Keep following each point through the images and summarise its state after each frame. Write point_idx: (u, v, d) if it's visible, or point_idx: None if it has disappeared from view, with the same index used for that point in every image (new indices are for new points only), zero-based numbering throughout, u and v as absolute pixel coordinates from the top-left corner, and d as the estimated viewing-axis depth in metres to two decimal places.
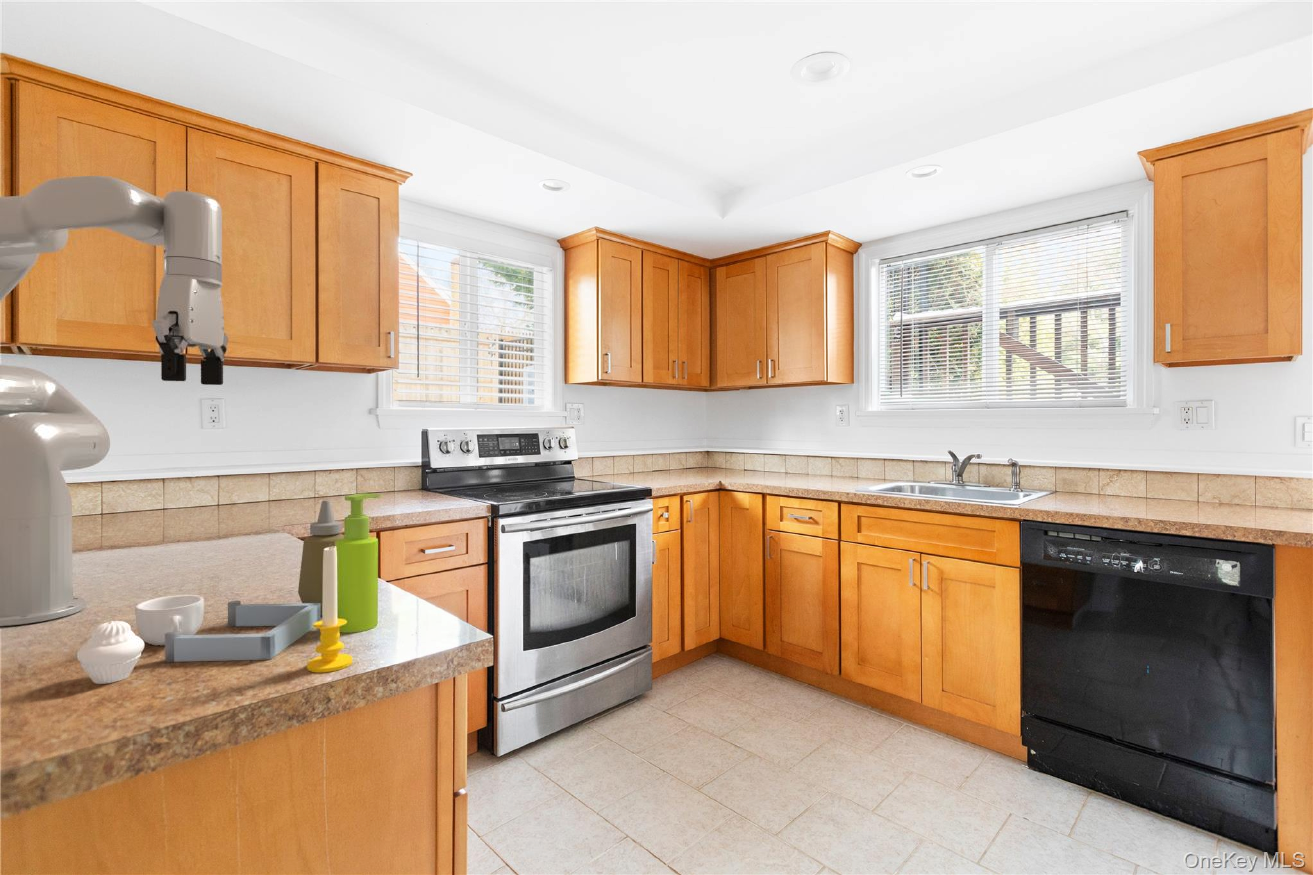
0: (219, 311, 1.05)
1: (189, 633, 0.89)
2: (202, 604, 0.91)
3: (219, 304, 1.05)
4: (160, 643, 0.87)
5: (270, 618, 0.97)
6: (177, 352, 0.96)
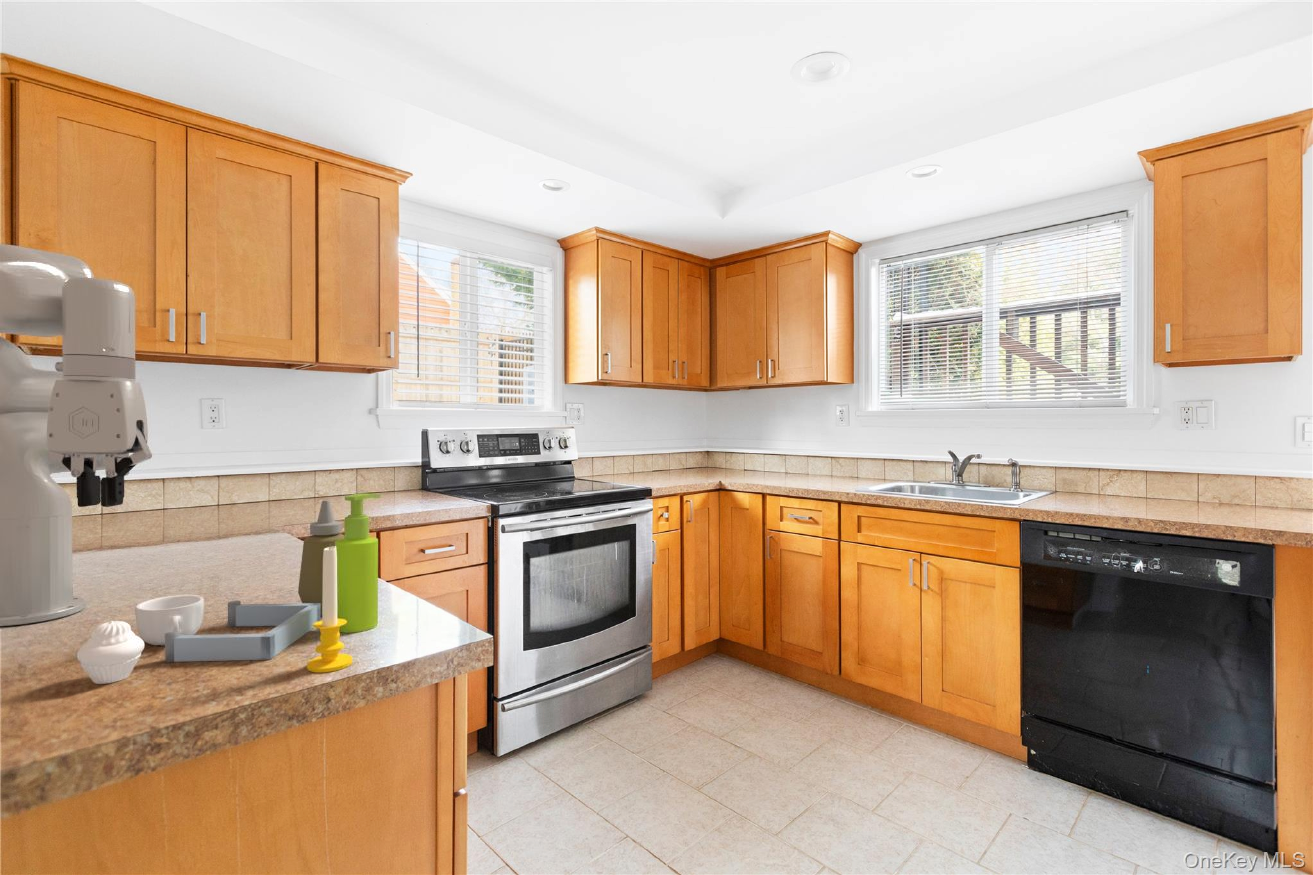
0: None
1: (189, 633, 0.89)
2: (202, 604, 0.91)
3: None
4: (160, 643, 0.87)
5: (270, 618, 0.97)
6: (127, 474, 0.89)
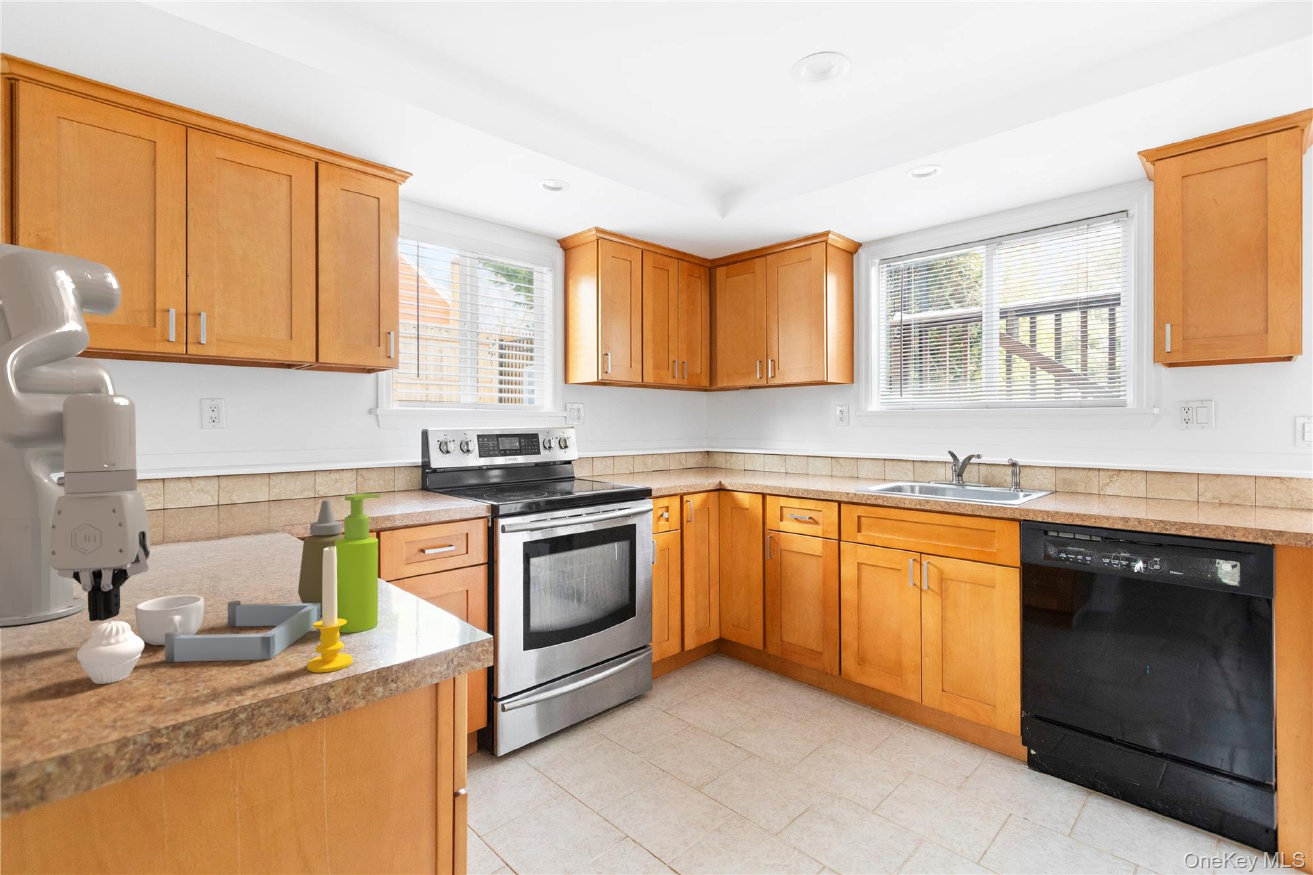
0: None
1: (189, 633, 0.89)
2: (202, 604, 0.91)
3: None
4: (160, 643, 0.87)
5: (270, 618, 0.97)
6: (122, 584, 0.89)
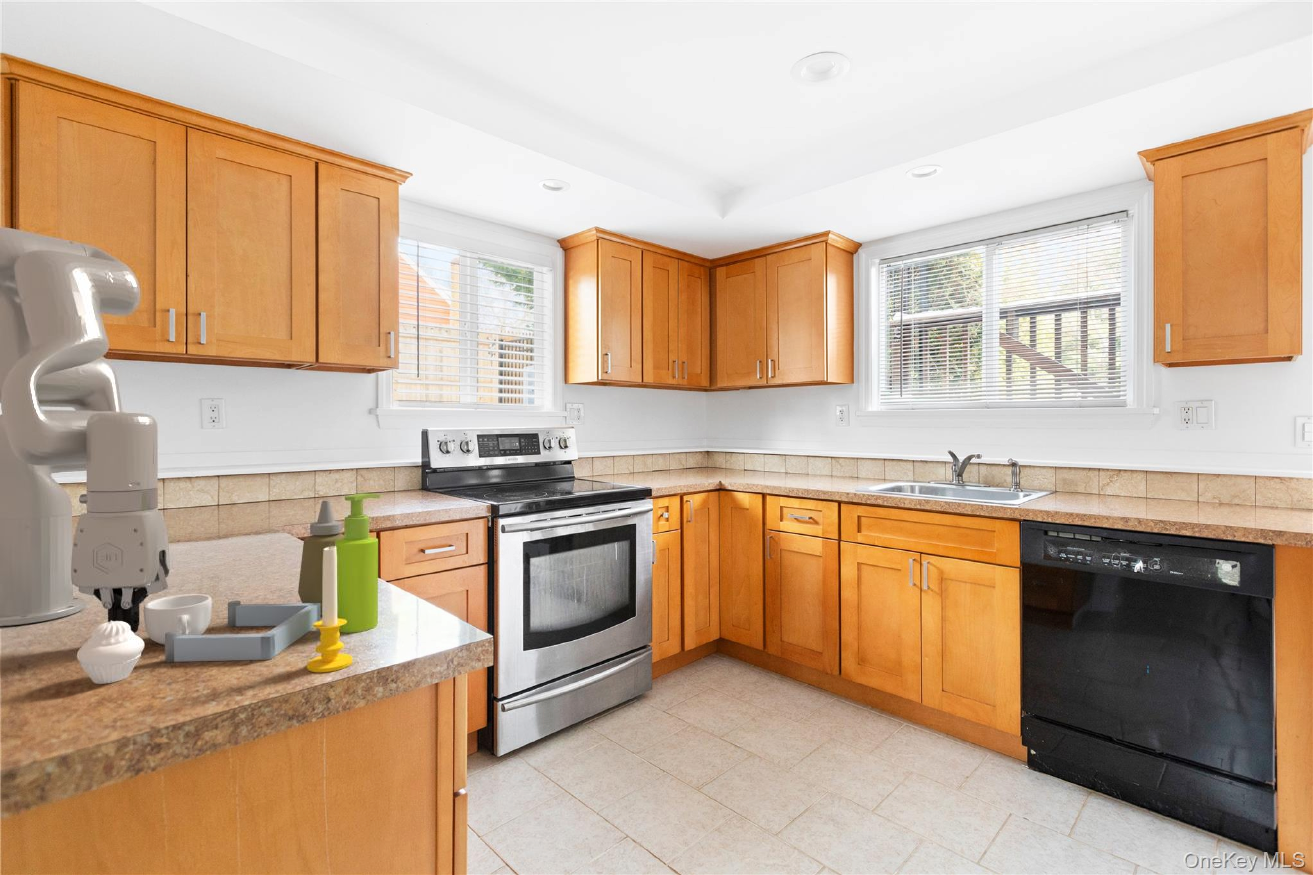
0: None
1: (197, 632, 0.89)
2: (210, 603, 0.91)
3: None
4: None
5: (270, 618, 0.97)
6: (142, 602, 0.90)
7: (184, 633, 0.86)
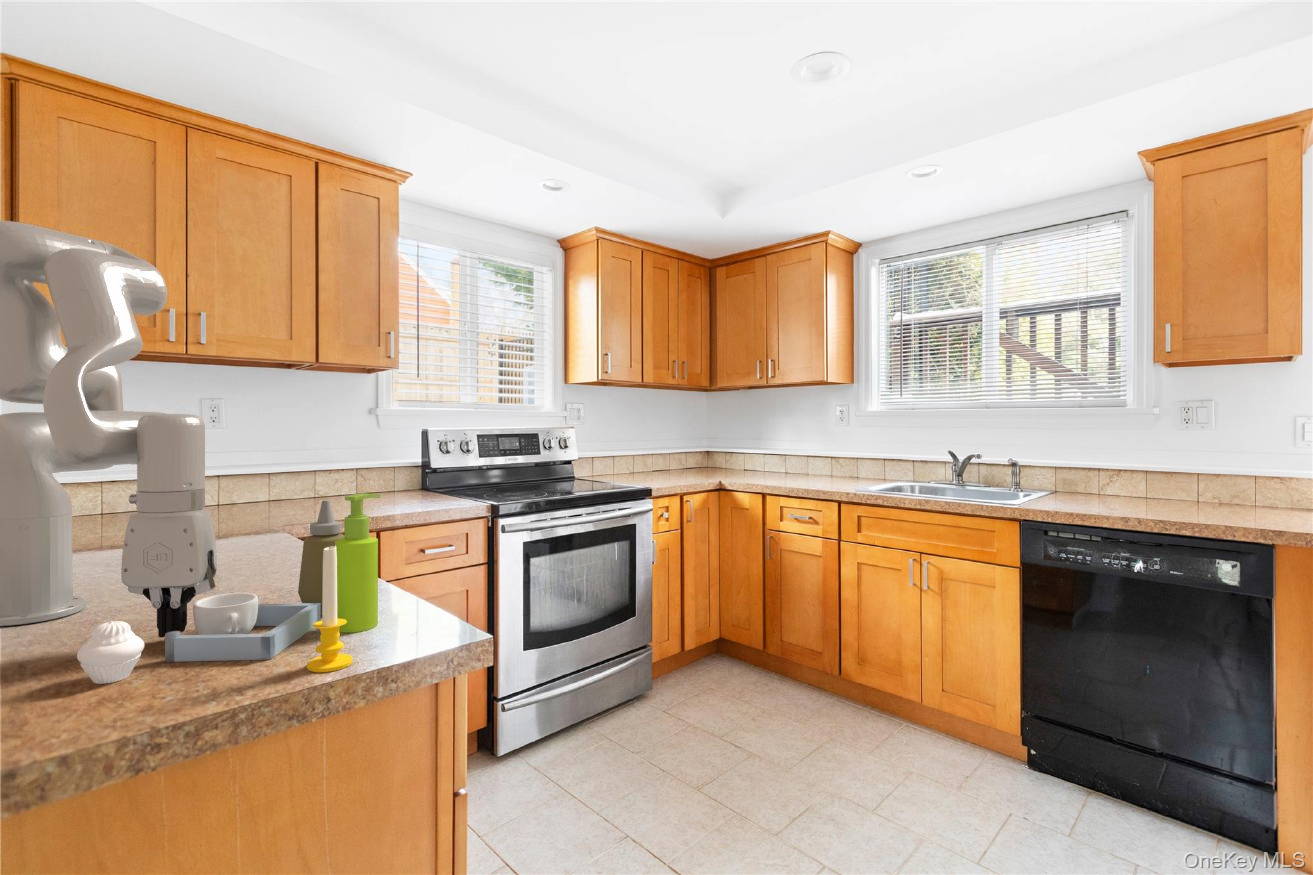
0: None
1: (245, 630, 0.90)
2: (257, 602, 0.92)
3: None
4: None
5: (270, 618, 0.97)
6: (189, 601, 0.90)
7: (234, 631, 0.87)
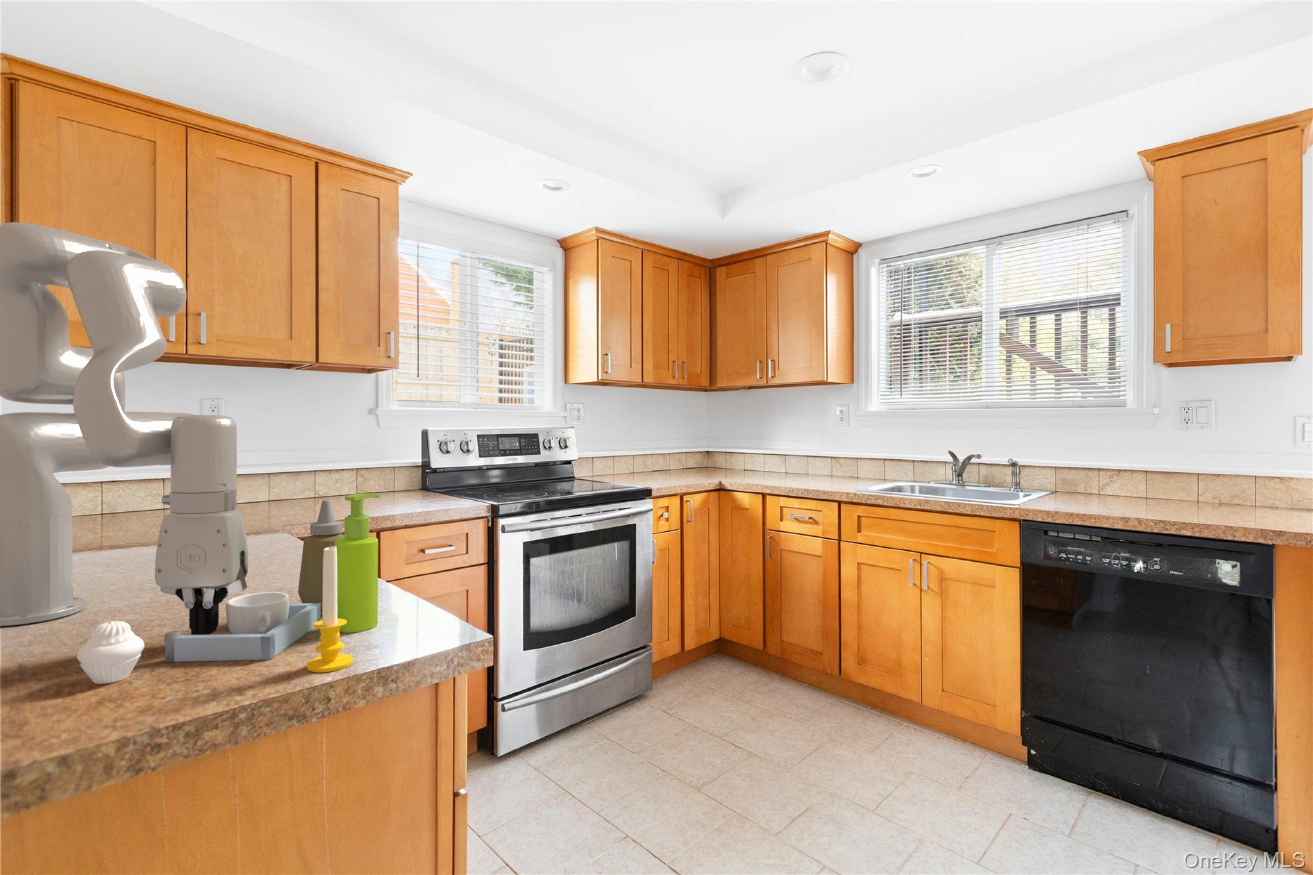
0: None
1: None
2: (288, 601, 0.93)
3: None
4: None
5: None
6: (221, 601, 0.91)
7: (268, 630, 0.88)
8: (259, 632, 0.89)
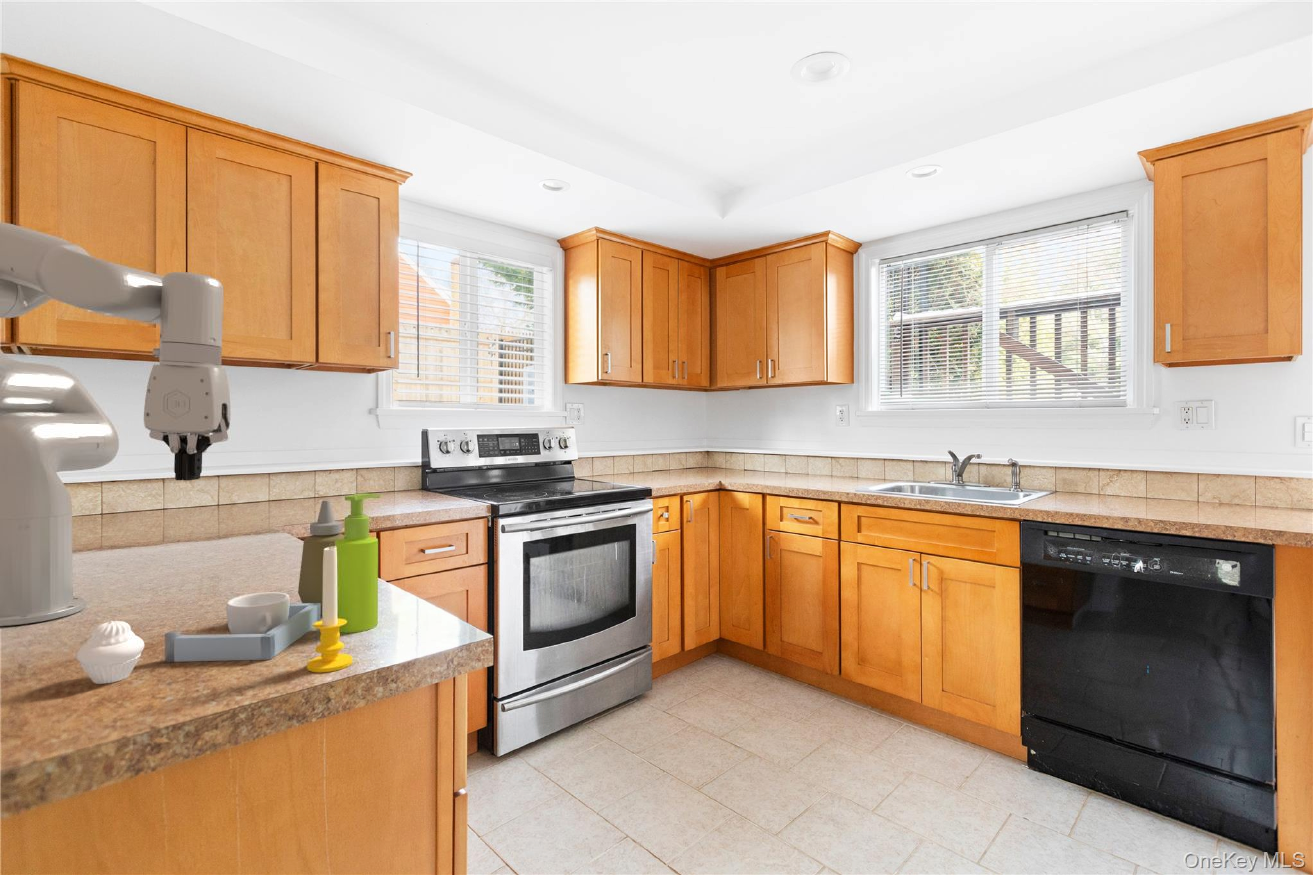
0: None
1: None
2: (288, 601, 0.93)
3: None
4: None
5: None
6: (204, 451, 0.98)
7: (268, 630, 0.88)
8: (259, 632, 0.89)
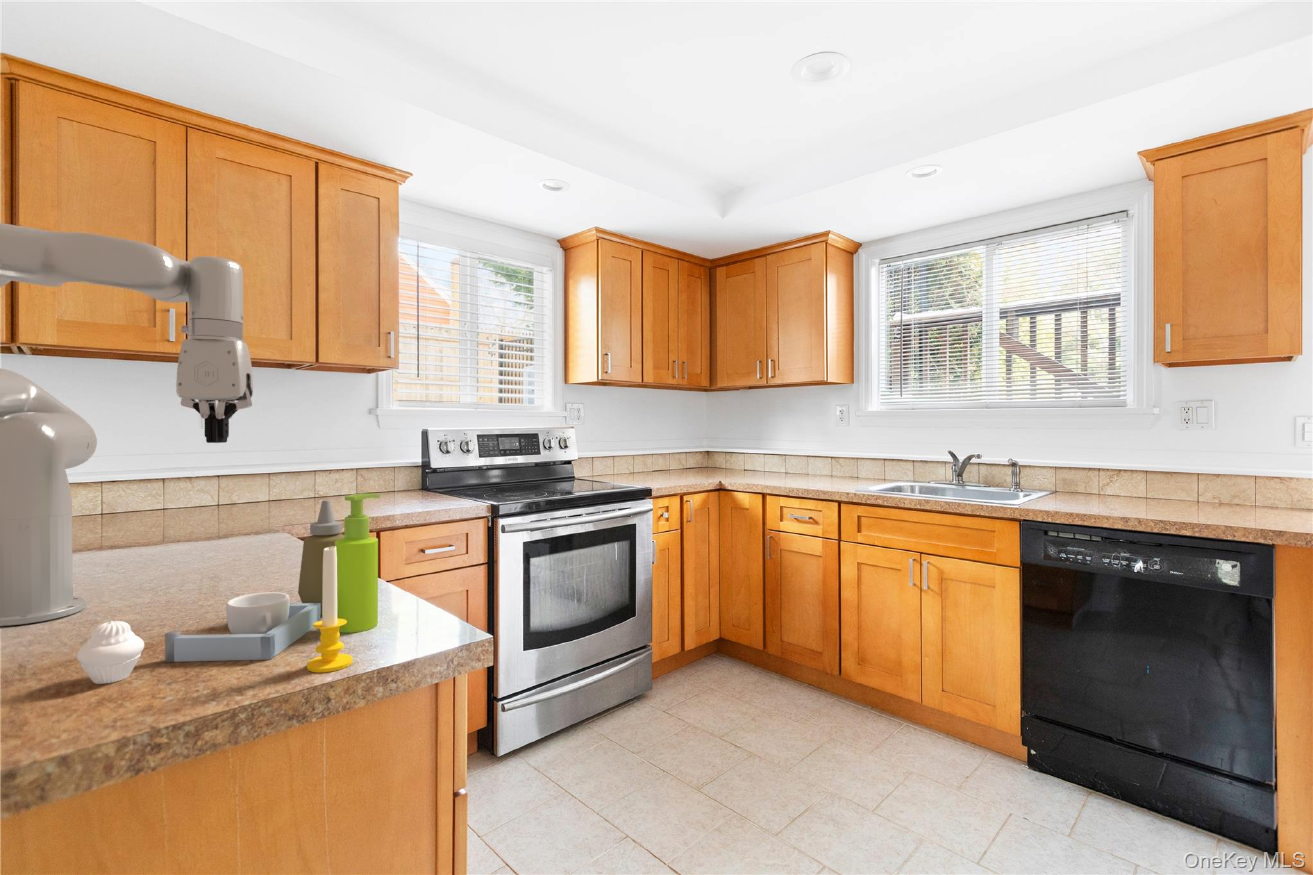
0: None
1: None
2: (288, 601, 0.93)
3: None
4: None
5: None
6: (230, 417, 1.09)
7: (268, 630, 0.88)
8: (259, 632, 0.89)
